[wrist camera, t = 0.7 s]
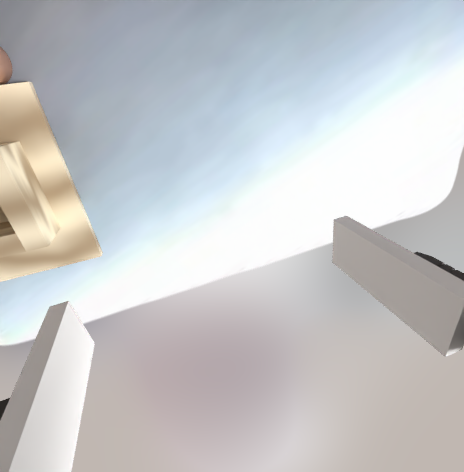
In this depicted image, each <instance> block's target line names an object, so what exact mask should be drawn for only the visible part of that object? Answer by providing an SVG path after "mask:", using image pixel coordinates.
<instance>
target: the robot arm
mask: <svg viewBox="0 0 464 472" xmlns="http://www.w3.org/2000/svg"><path fill="white" fill-rule="evenodd" d="M333 263H334V264H335V265H336V266H337V267H338V268H340V269H341V270H342V271H343V272H345V273H346V274H347V275H348V276H349V277H350V278H352V279H353V280H354V281H355V282H356V283H358V284H359V285H360V286H361V287H362V288H364V289H365V290H366V291H367V292H368V293H370V294H371V295H372V296H373V297H375V298H376V299H377V300H378V301H379V302H380V303H382V304H383V305H384V306H385V307H386V308H388V309H389V310H390V311H391V312H392V313H394V314H395V315H396V316H397V317H398V318H399V319H401V320H402V321H403V322H404V323H405V324H407V325H408V326H409V327H410V328H411V329H413V330H414V331H415V332H416V333H417V334H419V335H420V336H421V337H422V338H424V339H425V340H426V341H427V342H428V343H429V344H431V345H432V346H433V347H434V348H435V349H436V350H438V351H439V352H440V353H441V354H443V355H444V356H445V357H446V356H448V355H451V354H453V353H455V352H457V351H459V350H461V349H462V348H463V345H464V273H462V272H460V271H458V270H455V269H454V268H452V267H451V266H448V265H445V264H444V263H443V262H441V261H439V260H437V259H436V258H434V257H432V256H429V255H425V254H422V253H418V252H416V253H412V252H411V251H409V250H407V249H405V248H403V247H401V246H400V245H398V244H396V243H395V242H392V241H391V240H389V239H387V238H386V237H383V236H382V235H380V234H378V233H377V232H375V231H373V230H371V229H369V228H368V227H366V226H364V225H362V224H360V223H359V222H357V221H355V220H353V219H351V218H350V217H348V216H344V217H341V218H338V219H334V229H333ZM94 344H95V343H94V342H93V340H92V338H91V337H90V335H89V333H88V332H87V330H86V329H85V327H84V325H83V324H82V322H81V320H80V319H79V317H78V315H77V314H76V312H75V311H74V309H73V307H72V306H71V304H70V302H69V301H67V302H64V303H60V304H57V305H54V306H51V307H49V309H48V312H47V314H46V316H45V319H44V321H43V323H42V326H41V328H40V330H39V332H38V335H37V337H36V339H35V342H34V344H33V346H32V349H31V351H30V353H29V356H28V358H27V360H26V362H25V365H24V367H23V369H22V372H21V374H20V376H19V379H18V381H17V383H16V386H15V388H14V390H13V392H12V395H11V397H10V398H8V399H6V400H3V401H0V472H71V470H72V465H73V459H74V454H75V448H76V443H77V437H78V432H79V426H80V421H81V415H82V410H83V404H84V399H85V393H86V388H87V382H88V377H89V372H90V366H91V361H92V355H93V350H94Z"/></svg>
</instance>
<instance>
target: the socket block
mask: <svg viewBox="0 0 464 472" xmlns="http://www.w3.org/2000/svg"><path fill="white" fill-rule="evenodd" d="M102 253H103V252H102V250H101V248H100V245H99V243H98V240H97V238H96V236H95V233H94V231H93V228H92V226H91V224H90V221H89V219H88V216H87V214H86V212H85V209H84V207H83V204H82V202H81V200H80V197H79V195H78V192H77V190H76V188H75V185H74V183H73V180H72V178H71V176H70V173H69V171H68V169H67V166H66V164H65V161H64V159H63V157H62V154H61V152H60V149H59V147H58V145H57V142H56V140H55V137H54V135H53V133H52V130H51V128H50V125H49V123H48V121H47V118H46V116H45V113H44V111H43V109H42V106H41V104H40V101H39V99H38V97H37V94H36V92H35V89H34V87H33V85H32V83H31V82H22V83H13V84H5V85H0V282H1V281H5V280H9V279H13V278H17V277H21V276H25V275H29V274H33V273H37V272H41V271H45V270H49V269H53V268H57V267H61V266H65V265H69V264H73V263H77V262H81V261H85V260H89V259H92V258H96V257H100V256H102Z"/></svg>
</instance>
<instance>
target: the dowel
mask: <svg viewBox="0 0 464 472" xmlns="http://www.w3.org/2000/svg"><path fill="white" fill-rule="evenodd" d="M11 76H12V64H11V61H10V59H9V57H8V55H7V54H6V52H5V51H4V50H3V49H2V48H1V47H0V85H4V84H6V83H7V82H8V81H9V80H10V78H11Z"/></svg>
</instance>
